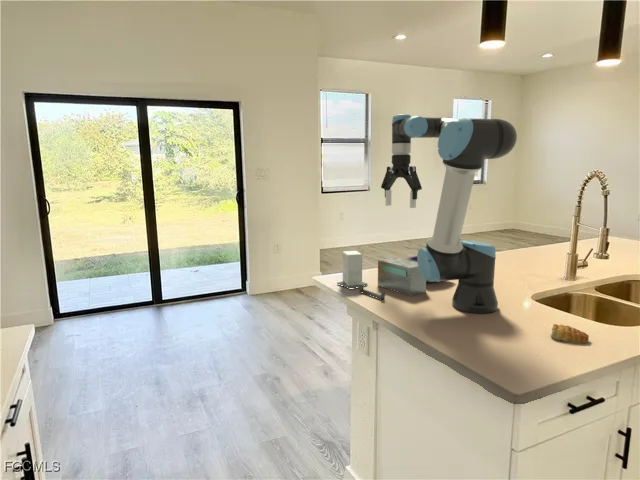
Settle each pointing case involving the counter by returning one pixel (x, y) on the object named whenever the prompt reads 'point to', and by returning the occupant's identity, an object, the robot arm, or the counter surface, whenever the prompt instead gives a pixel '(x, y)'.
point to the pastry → (568, 334)
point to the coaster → (350, 286)
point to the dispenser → (398, 277)
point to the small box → (352, 268)
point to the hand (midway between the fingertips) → (400, 206)
